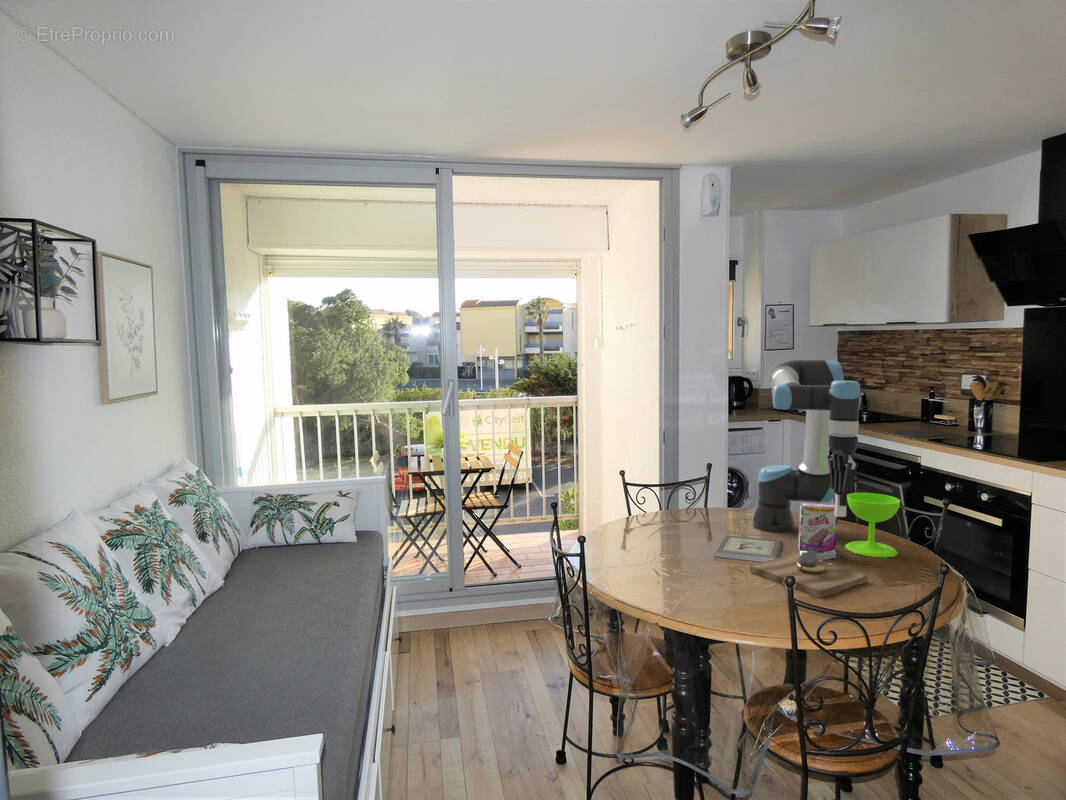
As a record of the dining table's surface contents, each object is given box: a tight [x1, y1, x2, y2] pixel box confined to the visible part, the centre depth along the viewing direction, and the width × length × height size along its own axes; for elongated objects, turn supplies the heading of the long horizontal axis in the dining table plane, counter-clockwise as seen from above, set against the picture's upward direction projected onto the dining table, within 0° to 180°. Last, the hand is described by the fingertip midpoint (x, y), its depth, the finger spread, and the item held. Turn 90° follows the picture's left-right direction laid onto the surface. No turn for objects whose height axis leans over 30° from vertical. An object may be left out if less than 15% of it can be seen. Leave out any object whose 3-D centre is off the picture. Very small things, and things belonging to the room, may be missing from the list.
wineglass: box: [844, 492, 901, 559], centre depth 218 cm, size 16×16×18 cm
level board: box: [749, 552, 868, 599], centre depth 195 cm, size 24×22×2 cm
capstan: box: [797, 548, 841, 573], centre depth 197 cm, size 16×8×6 cm, turn 115°
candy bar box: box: [797, 502, 838, 553], centre depth 216 cm, size 11×5×16 cm, turn 74°
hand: (840, 515), depth 187 cm, fingers closed
